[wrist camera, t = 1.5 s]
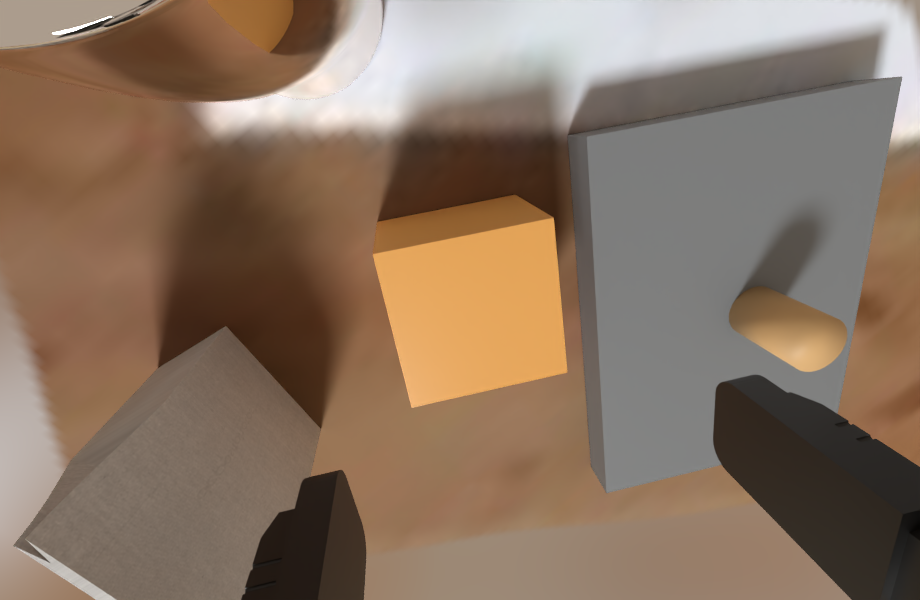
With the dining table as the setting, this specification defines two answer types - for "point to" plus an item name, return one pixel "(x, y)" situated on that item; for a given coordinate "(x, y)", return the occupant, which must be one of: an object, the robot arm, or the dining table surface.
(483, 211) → the matte orange cube
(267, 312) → the dining table surface
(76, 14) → the beer glass
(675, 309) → the board
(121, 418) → the grey cardboard box
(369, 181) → the dining table surface
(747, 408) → the robot arm
